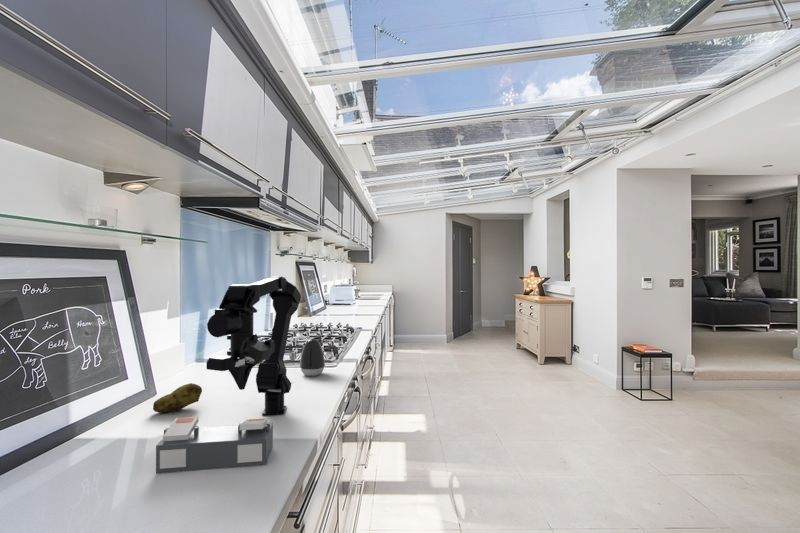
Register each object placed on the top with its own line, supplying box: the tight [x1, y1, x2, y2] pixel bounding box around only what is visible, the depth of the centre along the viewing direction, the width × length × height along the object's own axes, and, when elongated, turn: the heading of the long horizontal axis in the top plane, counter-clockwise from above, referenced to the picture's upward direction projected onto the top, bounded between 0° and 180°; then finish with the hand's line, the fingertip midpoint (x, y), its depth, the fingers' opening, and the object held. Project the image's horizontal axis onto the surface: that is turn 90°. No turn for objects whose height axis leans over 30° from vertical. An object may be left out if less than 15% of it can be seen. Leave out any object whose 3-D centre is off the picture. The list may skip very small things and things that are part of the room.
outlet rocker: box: [162, 416, 199, 441], centre depth 90 cm, size 7×5×1 cm
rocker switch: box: [239, 417, 269, 430], centre depth 93 cm, size 7×5×1 cm
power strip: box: [155, 421, 274, 474], centre depth 91 cm, size 9×23×8 cm, turn 99°
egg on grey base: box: [299, 338, 326, 377], centre depth 165 cm, size 10×10×15 cm
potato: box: [152, 383, 203, 414], centre depth 124 cm, size 8×13×8 cm, turn 99°
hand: (241, 389), depth 106 cm, fingers closed
